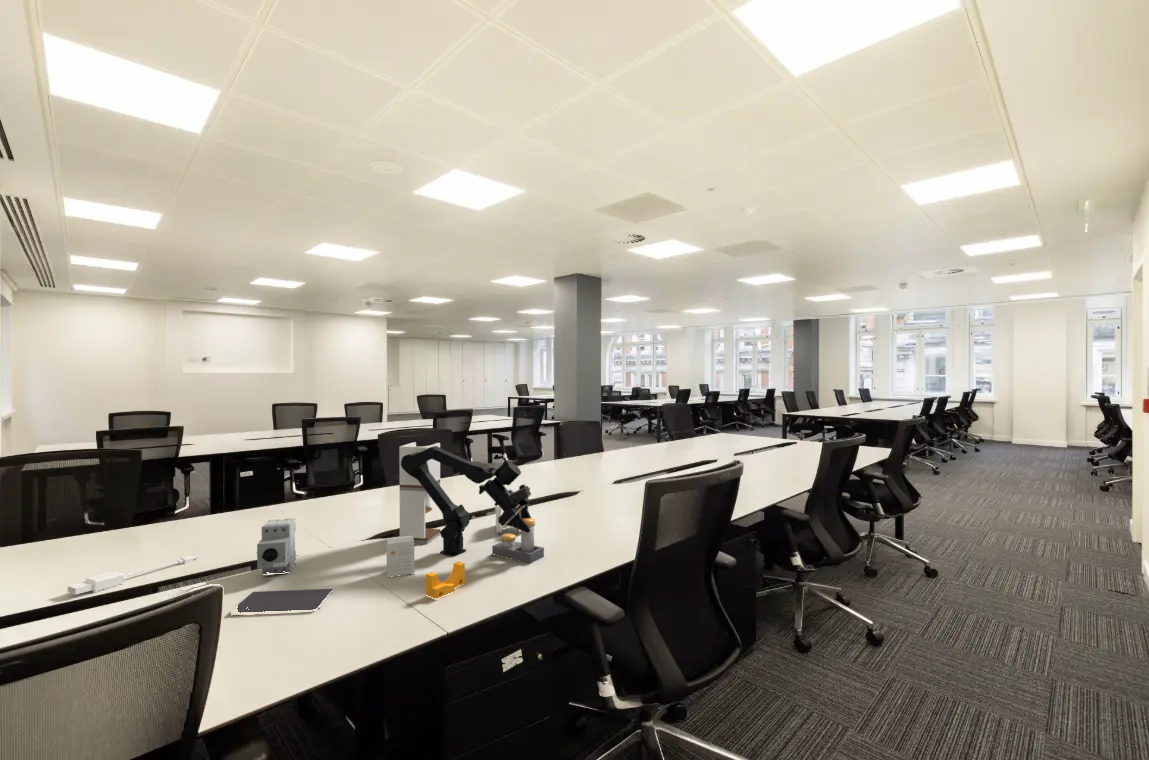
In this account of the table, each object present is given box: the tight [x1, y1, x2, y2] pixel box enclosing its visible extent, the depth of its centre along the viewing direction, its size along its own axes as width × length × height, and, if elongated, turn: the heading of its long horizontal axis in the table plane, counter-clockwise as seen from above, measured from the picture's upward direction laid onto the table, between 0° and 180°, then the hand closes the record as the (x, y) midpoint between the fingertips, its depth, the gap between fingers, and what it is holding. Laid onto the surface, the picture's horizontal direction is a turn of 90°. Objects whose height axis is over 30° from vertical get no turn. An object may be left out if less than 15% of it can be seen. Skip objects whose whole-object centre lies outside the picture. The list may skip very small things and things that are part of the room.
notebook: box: [237, 588, 334, 613], centre depth 142 cm, size 13×2×21 cm
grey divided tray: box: [491, 533, 545, 564], centre depth 179 cm, size 8×16×6 cm, turn 59°
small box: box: [386, 536, 416, 578], centre depth 163 cm, size 8×6×10 cm
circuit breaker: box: [256, 517, 297, 575], centre depth 162 cm, size 8×14×15 cm, turn 15°
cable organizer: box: [494, 505, 521, 534], centre depth 208 cm, size 15×11×12 cm
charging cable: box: [67, 555, 199, 596], centre depth 160 cm, size 5×32×3 cm, turn 156°
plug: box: [520, 517, 536, 553], centre depth 177 cm, size 5×5×12 cm
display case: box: [398, 441, 441, 545], centre depth 196 cm, size 11×11×35 cm
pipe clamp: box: [425, 561, 466, 599], centre depth 150 cm, size 12×4×6 cm, turn 145°
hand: (531, 529), depth 176 cm, fingers open, 6 cm apart
